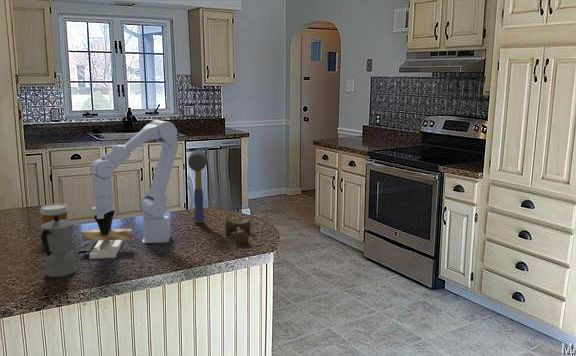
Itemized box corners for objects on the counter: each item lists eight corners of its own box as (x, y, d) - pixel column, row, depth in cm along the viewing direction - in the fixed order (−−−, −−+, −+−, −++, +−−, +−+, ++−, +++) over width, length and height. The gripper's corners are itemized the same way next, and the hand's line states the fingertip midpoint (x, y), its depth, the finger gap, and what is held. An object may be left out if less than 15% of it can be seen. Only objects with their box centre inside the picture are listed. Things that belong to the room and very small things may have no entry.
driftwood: (90, 254, 166) (89, 248, 165) (69, 254, 165) (69, 248, 165) (107, 235, 186) (106, 230, 185) (88, 236, 185) (88, 230, 185)
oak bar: (132, 236, 170) (131, 228, 169) (130, 239, 167) (130, 231, 167) (84, 238, 167) (83, 229, 167) (81, 241, 165) (81, 232, 164)
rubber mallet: (207, 226, 195) (206, 153, 190) (189, 227, 195) (186, 153, 189) (208, 218, 208) (207, 148, 202) (191, 218, 207) (189, 148, 201)
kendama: (228, 247, 174) (223, 229, 193) (255, 246, 176) (247, 228, 195) (228, 231, 173) (223, 214, 192) (255, 230, 175) (247, 214, 194)
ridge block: (123, 241, 176) (122, 231, 176) (115, 257, 161) (114, 246, 160) (100, 242, 175) (99, 232, 174) (89, 258, 160) (88, 247, 159)
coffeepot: (56, 263, 156) (51, 209, 152) (85, 263, 155) (81, 209, 152) (30, 283, 140) (24, 223, 137) (62, 283, 140) (57, 223, 137)
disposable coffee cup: (55, 232, 186) (52, 202, 184) (76, 235, 183) (73, 204, 181) (36, 240, 177) (33, 208, 175) (58, 243, 174) (55, 210, 172)
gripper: (95, 190, 171) (98, 227, 173) (85, 200, 156) (88, 240, 159) (116, 189, 172) (119, 226, 174) (108, 199, 158) (111, 239, 160)
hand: (106, 233), depth 167 cm, fingers closed on oak bar, 3 cm apart
